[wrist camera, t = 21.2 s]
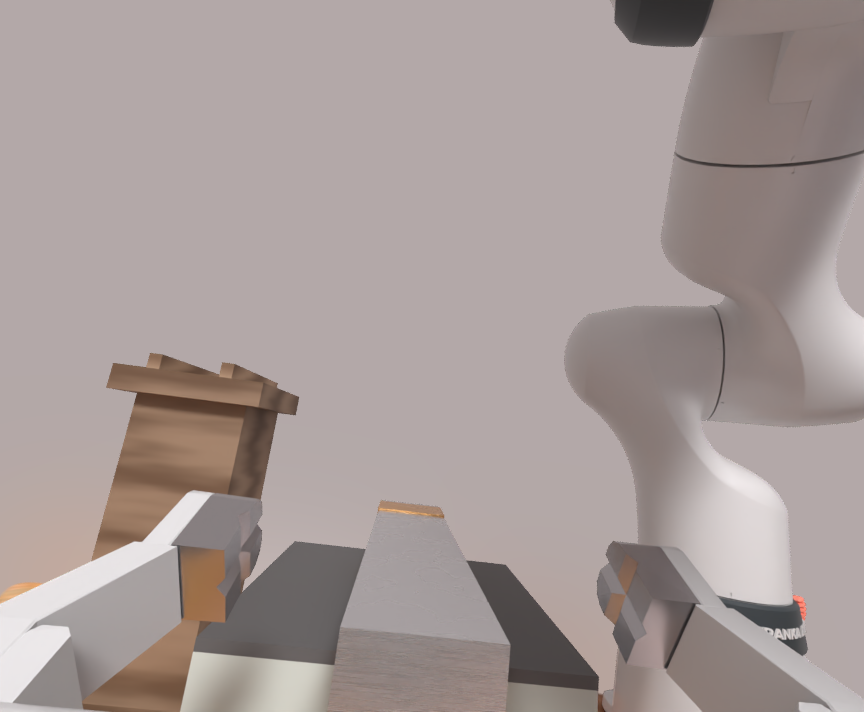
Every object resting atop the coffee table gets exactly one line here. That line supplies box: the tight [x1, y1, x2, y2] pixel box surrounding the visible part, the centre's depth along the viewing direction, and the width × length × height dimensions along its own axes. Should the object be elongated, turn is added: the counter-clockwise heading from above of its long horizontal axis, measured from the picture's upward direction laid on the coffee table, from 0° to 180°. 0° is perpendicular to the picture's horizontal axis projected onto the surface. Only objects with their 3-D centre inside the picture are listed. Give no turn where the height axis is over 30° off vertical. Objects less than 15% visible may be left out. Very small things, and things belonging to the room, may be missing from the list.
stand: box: [82, 353, 299, 712], centre depth 36 cm, size 14×14×27 cm
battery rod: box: [327, 500, 510, 712], centre depth 19 cm, size 21×4×4 cm, turn 3°
